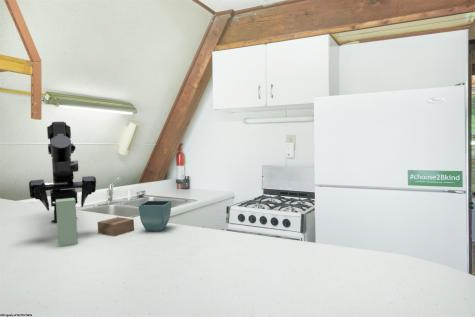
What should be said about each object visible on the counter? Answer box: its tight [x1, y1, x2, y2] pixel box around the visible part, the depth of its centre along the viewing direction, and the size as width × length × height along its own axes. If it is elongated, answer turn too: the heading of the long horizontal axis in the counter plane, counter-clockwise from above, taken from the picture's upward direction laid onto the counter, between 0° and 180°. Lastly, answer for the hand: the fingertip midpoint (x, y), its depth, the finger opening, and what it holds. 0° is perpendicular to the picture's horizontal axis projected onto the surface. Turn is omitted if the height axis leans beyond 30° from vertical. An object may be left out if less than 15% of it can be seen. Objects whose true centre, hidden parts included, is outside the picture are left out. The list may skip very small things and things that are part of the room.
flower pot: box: [137, 200, 173, 232], centre depth 117 cm, size 9×9×9 cm
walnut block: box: [97, 216, 135, 237], centre depth 116 cm, size 8×8×4 cm
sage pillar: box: [55, 198, 79, 247], centre depth 104 cm, size 5×5×13 cm
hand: (65, 208), depth 106 cm, fingers open, 9 cm apart
